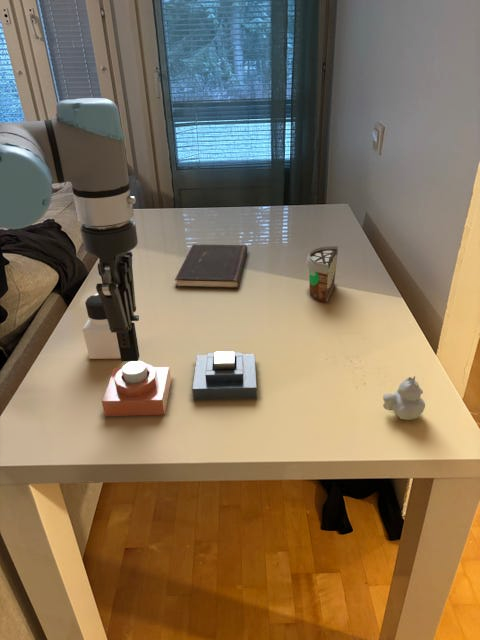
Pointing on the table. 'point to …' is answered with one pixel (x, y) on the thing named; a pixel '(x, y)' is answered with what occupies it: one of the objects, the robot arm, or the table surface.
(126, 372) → the white round push button
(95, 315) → the medicine bottle
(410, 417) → the white lumpy figurine
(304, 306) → the table surface
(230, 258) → the hardcover book
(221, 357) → the pump square
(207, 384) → the push button base
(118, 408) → the orange button base
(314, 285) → the food container
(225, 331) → the table surface
